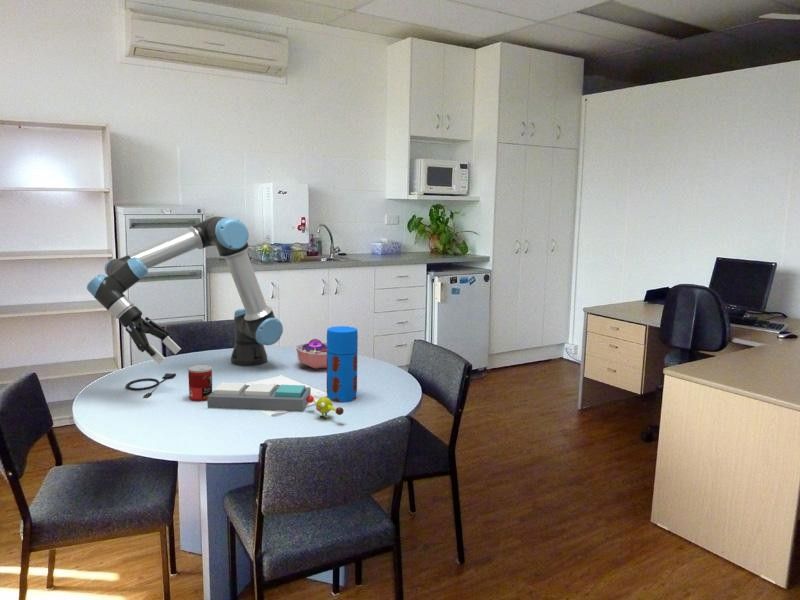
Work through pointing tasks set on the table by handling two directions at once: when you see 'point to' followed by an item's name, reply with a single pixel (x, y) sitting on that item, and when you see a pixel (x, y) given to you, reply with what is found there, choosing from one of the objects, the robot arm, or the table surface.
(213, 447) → the table surface
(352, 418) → the table surface
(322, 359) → the cell model
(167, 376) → the cable
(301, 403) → the keypad frame
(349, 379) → the thermos
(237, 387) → the key near
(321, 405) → the toy figure
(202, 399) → the canned food
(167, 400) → the table surface
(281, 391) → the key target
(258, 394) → the key middle
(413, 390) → the table surface
